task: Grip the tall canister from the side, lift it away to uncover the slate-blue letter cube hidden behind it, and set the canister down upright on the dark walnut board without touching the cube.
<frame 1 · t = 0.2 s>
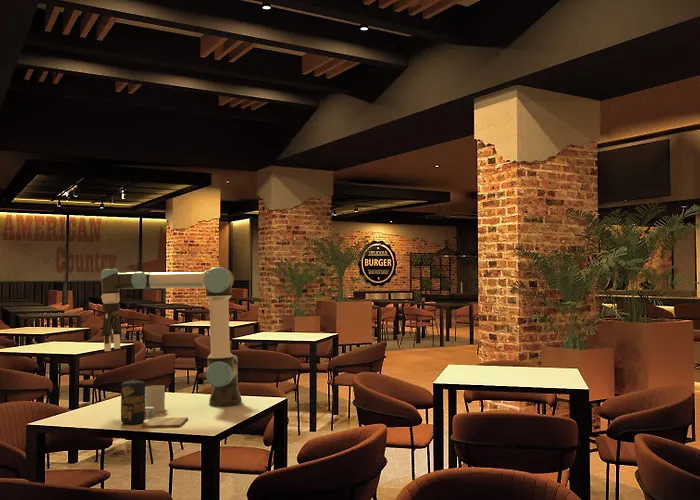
hand: (112, 349, 302), 28 cm above the table, tool pointing down, fingers open, 13 cm apart
canister: (133, 423, 275), on the table
walnut board: (165, 423, 273), on the table
letter cube: (148, 416, 288), on the table
mug: (156, 411, 302), on the table
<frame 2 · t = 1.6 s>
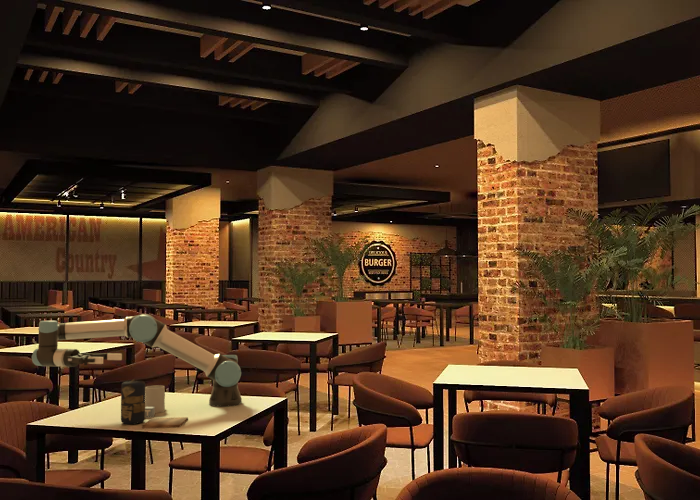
hand: (112, 358, 279), 26 cm above the table, tool horizontal, fingers open, 13 cm apart
nothing on the table moved.
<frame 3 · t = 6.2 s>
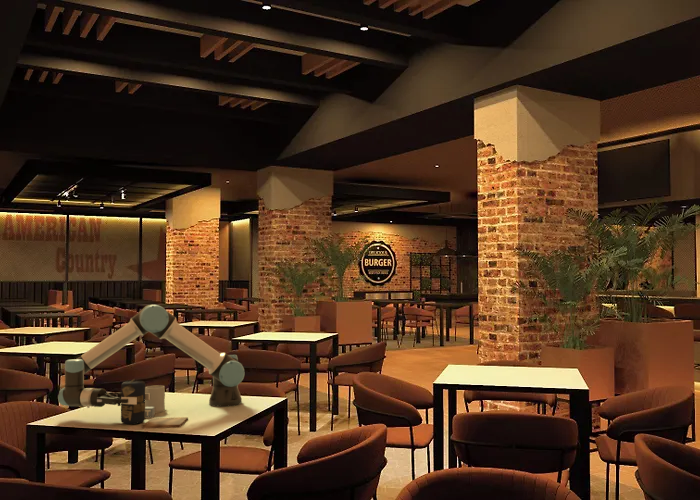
hand: (142, 398, 275), 10 cm above the table, tool horizontal, fingers closed on canister, 9 cm apart
canister: (133, 423, 275), on the table, touching gripper
everything else where it was.
when the fingers open (11 cm above the table, at t = 11.0 s): canister stays where it is, resting on walnut board.
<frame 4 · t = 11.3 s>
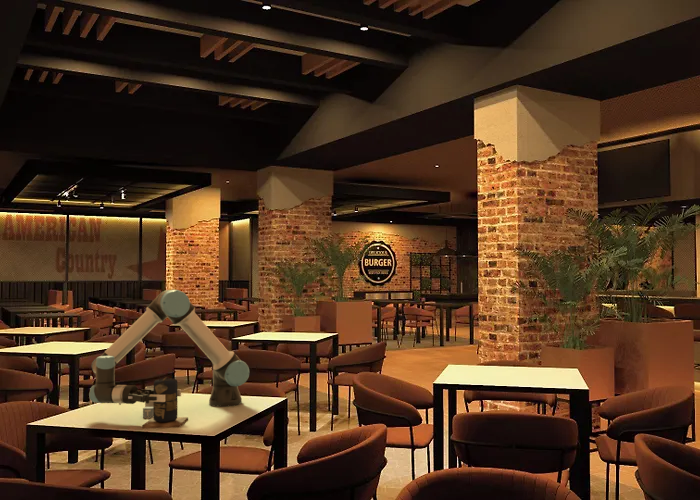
hand: (173, 395, 272), 11 cm above the table, tool horizontal, fingers open, 13 cm apart
canister: (165, 421, 273), point 1 cm above the table, touching walnut board
everything else where it was.
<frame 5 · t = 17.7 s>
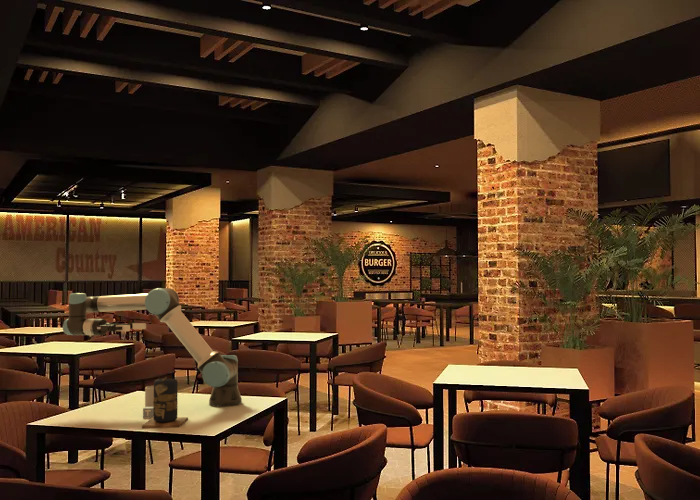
hand: (137, 327, 301), 38 cm above the table, tool horizontal, fingers open, 13 cm apart
nothing on the table moved.
at the end: canister inside the target area on the walnut board (0.1 cm from its centre), point 0.8 cm above the walnut board's base; canister tilted 0°; letter cube moved 0.1 cm from its start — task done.
